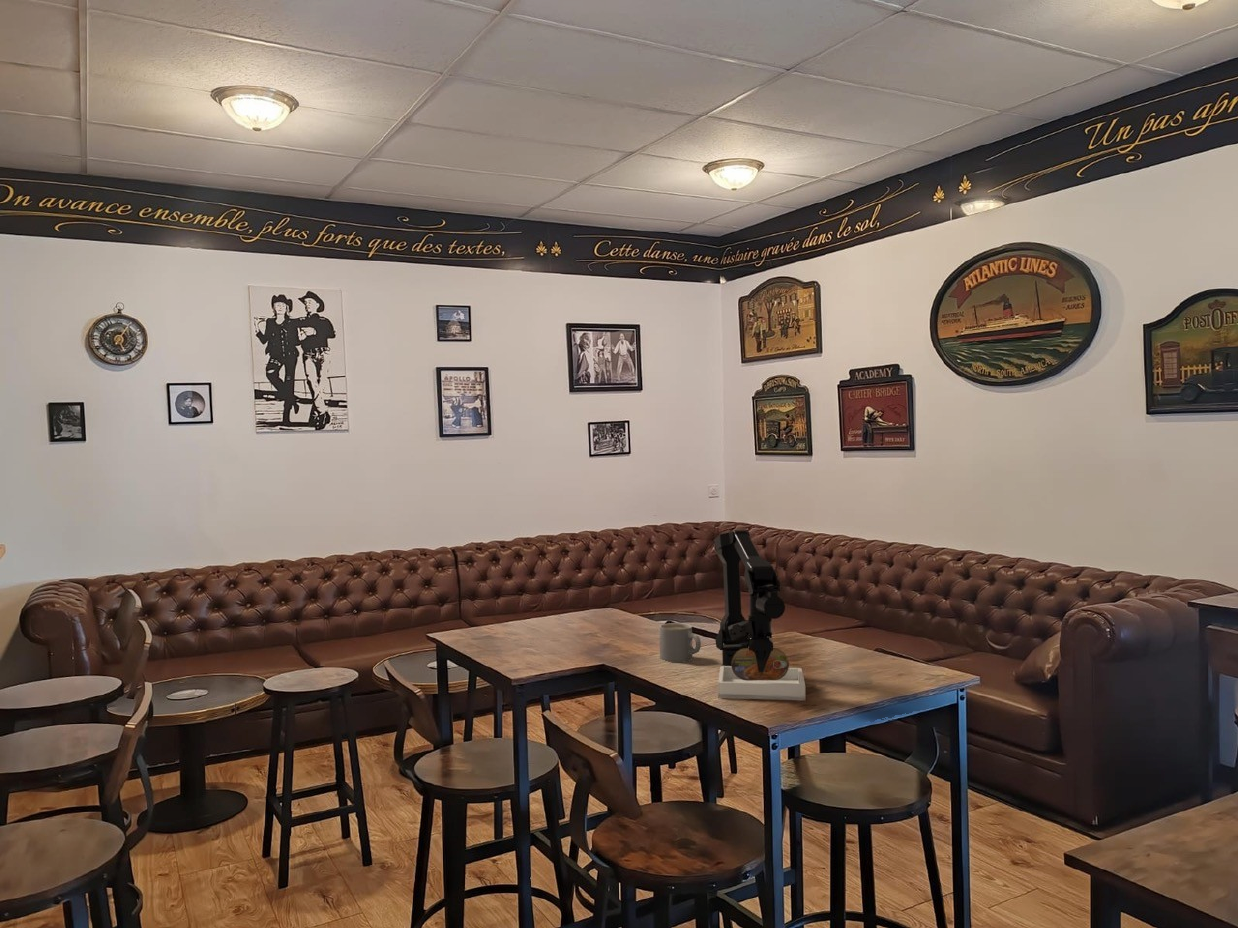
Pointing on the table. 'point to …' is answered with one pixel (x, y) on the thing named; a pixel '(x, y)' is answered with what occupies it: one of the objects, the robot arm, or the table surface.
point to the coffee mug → (677, 642)
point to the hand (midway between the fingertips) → (760, 670)
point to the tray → (762, 686)
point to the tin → (748, 669)
